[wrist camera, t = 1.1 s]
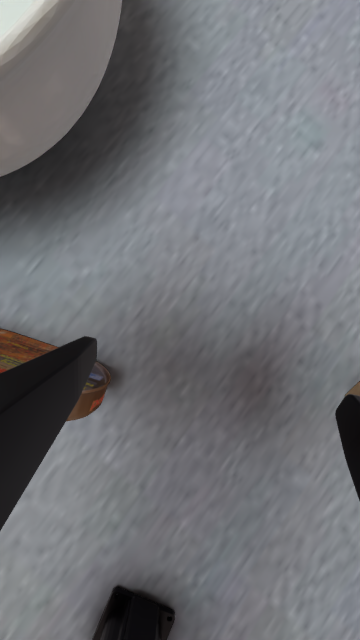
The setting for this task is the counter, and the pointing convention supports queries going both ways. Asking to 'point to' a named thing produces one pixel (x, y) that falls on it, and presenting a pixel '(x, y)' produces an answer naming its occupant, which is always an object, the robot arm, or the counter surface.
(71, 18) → the bowl
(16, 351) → the tin
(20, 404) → the robot arm
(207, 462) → the counter surface
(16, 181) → the counter surface
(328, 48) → the counter surface
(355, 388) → the pin
